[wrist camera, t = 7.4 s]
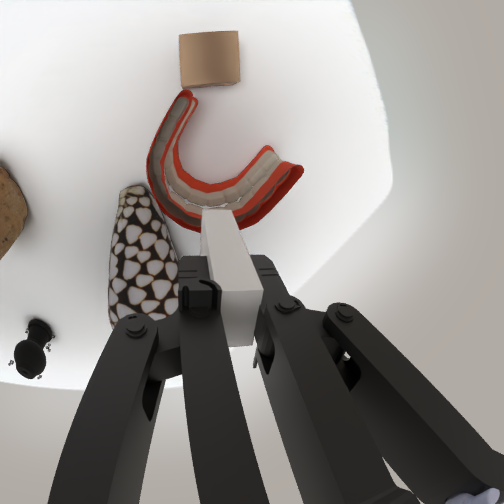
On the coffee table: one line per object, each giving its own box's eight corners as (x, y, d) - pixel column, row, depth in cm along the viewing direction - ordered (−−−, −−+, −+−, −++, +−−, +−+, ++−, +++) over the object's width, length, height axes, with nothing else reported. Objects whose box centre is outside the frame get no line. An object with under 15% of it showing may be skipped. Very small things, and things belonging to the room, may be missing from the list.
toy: (133, 173, 27) (115, 199, 20) (184, 90, 23) (181, 85, 17) (227, 224, 32) (239, 261, 26) (280, 152, 29) (307, 170, 22)
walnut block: (183, 89, 23) (181, 86, 19) (181, 46, 21) (178, 34, 17) (232, 85, 24) (240, 81, 20) (230, 42, 21) (238, 30, 17)
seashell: (215, 276, 36) (225, 332, 28) (142, 317, 37) (137, 372, 29) (140, 175, 27) (119, 209, 19) (65, 235, 28) (32, 283, 20)
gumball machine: (28, 334, 34) (12, 378, 26) (21, 311, 32) (1, 356, 23) (59, 343, 37) (45, 389, 28) (54, 320, 34) (36, 369, 26)
